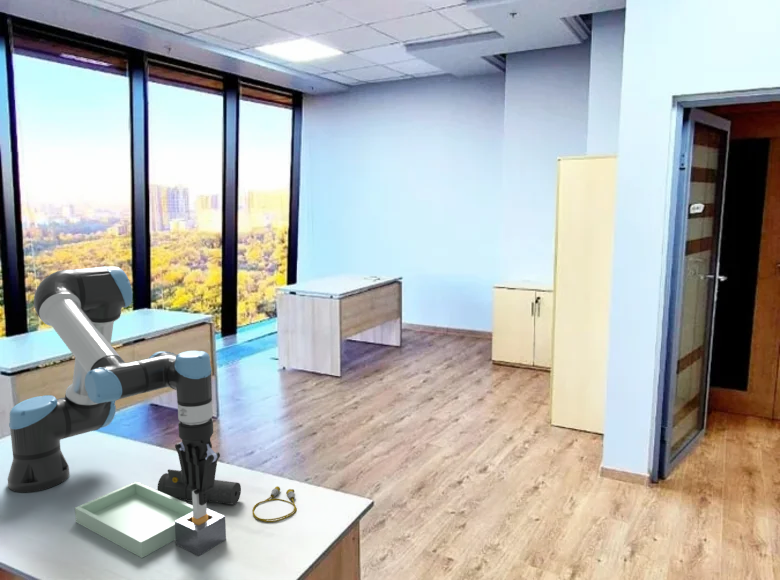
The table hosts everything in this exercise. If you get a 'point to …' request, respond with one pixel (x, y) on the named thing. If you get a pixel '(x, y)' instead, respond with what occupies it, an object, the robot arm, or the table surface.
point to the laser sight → (177, 489)
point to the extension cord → (274, 493)
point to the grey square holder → (200, 532)
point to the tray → (134, 517)
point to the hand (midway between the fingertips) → (200, 515)
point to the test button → (200, 520)
